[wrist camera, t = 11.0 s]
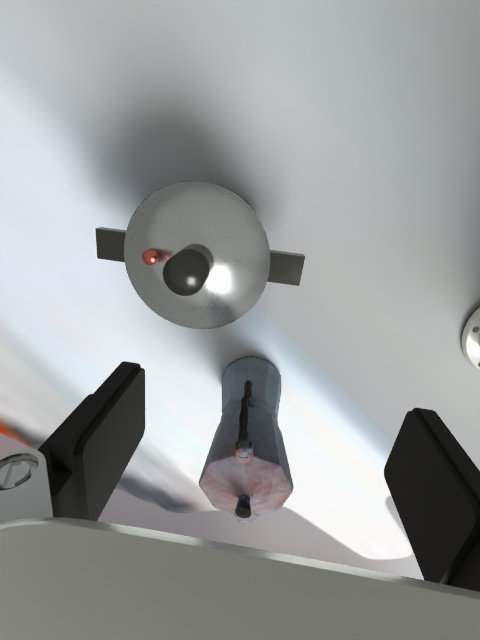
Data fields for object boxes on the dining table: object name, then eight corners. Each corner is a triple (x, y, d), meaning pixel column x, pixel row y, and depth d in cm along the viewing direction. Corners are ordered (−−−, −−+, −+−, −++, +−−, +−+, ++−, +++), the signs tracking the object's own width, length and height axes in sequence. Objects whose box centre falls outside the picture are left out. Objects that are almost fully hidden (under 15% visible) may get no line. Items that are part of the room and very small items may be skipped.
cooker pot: (304, 200, 36) (317, 203, 28) (284, 304, 41) (290, 332, 33) (127, 176, 36) (87, 172, 28) (129, 282, 41) (96, 305, 33)
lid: (281, 192, 28) (287, 193, 22) (258, 332, 33) (257, 363, 27) (127, 171, 28) (91, 166, 22) (129, 314, 33) (101, 340, 27)
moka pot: (224, 421, 49) (202, 558, 31) (211, 334, 44) (175, 440, 25) (284, 419, 49) (298, 558, 30) (279, 330, 43) (293, 436, 24)
